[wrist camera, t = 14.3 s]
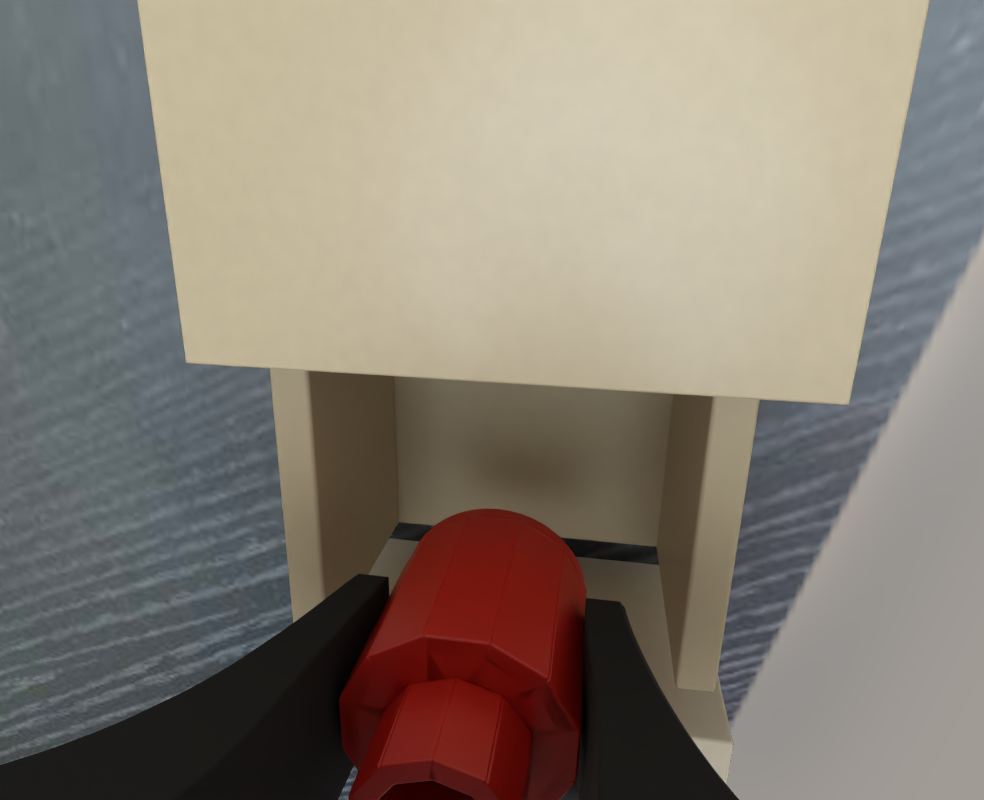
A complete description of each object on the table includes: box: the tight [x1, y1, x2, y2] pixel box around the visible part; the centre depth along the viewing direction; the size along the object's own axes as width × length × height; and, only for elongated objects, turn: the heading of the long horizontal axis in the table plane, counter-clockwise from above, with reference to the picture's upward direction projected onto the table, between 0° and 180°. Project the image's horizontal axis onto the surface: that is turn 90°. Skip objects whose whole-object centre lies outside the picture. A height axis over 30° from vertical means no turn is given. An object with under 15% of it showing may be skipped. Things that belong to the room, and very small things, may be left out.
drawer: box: [270, 368, 760, 800], centre depth 17 cm, size 17×10×7 cm, turn 179°
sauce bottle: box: [339, 508, 587, 800], centre depth 11 cm, size 4×4×6 cm
